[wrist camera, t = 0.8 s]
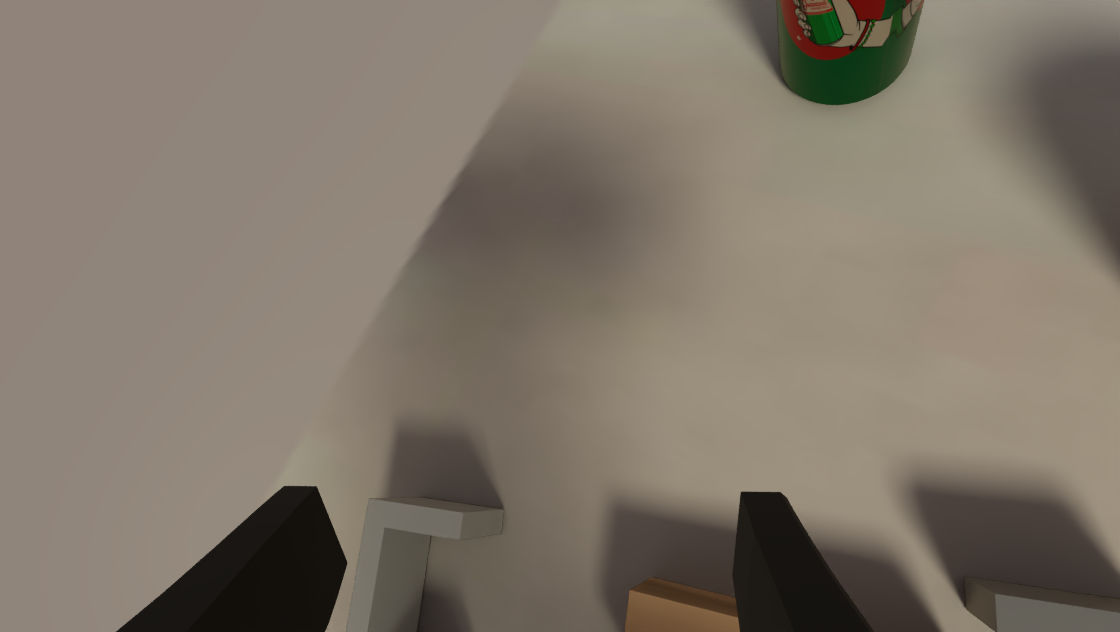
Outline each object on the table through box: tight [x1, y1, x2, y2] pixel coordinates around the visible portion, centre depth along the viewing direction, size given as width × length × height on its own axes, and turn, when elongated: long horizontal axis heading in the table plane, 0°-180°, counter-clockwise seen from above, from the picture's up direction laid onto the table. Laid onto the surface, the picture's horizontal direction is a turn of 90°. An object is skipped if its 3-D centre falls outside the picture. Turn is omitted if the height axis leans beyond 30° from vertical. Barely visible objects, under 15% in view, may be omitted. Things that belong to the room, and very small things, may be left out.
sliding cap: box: [346, 497, 504, 632], centre depth 24 cm, size 8×4×4 cm, turn 174°
